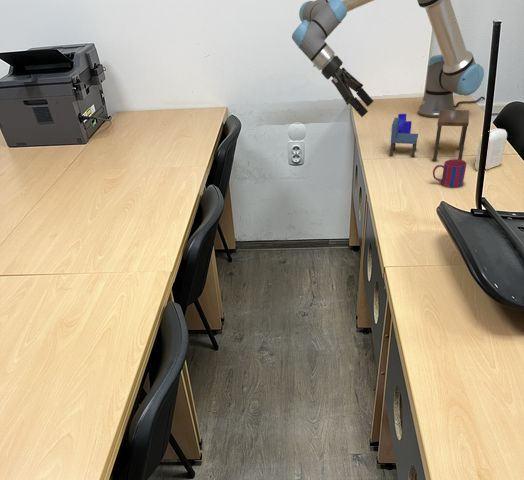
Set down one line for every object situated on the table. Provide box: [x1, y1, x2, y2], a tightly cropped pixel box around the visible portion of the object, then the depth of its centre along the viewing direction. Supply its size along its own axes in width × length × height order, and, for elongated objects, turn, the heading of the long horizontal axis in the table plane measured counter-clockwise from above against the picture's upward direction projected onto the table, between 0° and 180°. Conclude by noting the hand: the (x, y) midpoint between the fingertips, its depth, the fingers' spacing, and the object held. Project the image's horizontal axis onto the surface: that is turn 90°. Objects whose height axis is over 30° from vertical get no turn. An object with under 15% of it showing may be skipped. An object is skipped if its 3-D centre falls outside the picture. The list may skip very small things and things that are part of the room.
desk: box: [432, 109, 470, 162], centre depth 187 cm, size 10×15×14 cm, turn 163°
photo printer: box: [474, 128, 508, 171], centre depth 176 cm, size 10×4×12 cm, turn 123°
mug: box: [432, 158, 467, 188], centre depth 168 cm, size 7×10×7 cm
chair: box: [389, 117, 419, 158], centre depth 192 cm, size 9×8×12 cm
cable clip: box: [397, 113, 412, 134], centre depth 211 cm, size 12×4×6 cm, turn 179°
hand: (368, 109), depth 189 cm, fingers open, 13 cm apart
